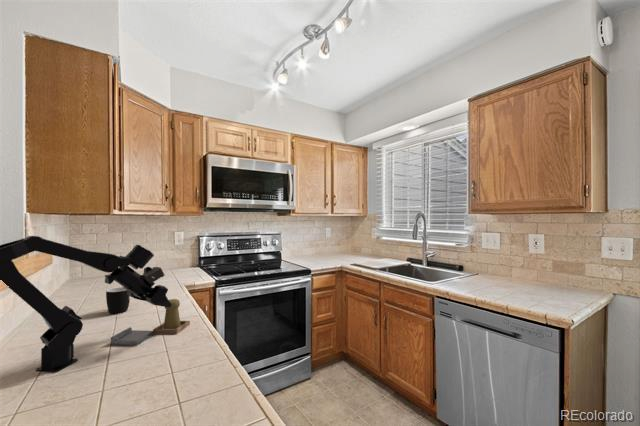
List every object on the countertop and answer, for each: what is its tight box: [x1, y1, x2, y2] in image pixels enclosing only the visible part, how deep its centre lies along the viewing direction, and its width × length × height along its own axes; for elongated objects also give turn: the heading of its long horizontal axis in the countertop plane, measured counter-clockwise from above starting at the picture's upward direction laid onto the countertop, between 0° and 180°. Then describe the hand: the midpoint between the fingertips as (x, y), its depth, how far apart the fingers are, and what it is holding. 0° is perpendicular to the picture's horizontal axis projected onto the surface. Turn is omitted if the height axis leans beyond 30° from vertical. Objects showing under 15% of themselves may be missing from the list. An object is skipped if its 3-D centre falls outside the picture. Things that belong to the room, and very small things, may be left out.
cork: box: [163, 298, 181, 329], centre depth 108 cm, size 6×6×11 cm
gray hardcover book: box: [110, 327, 154, 346], centre depth 99 cm, size 8×9×2 cm
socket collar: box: [152, 320, 191, 335], centre depth 108 cm, size 9×9×2 cm
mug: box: [105, 286, 131, 315], centre depth 130 cm, size 12×9×10 cm
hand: (164, 304), depth 106 cm, fingers open, 9 cm apart
